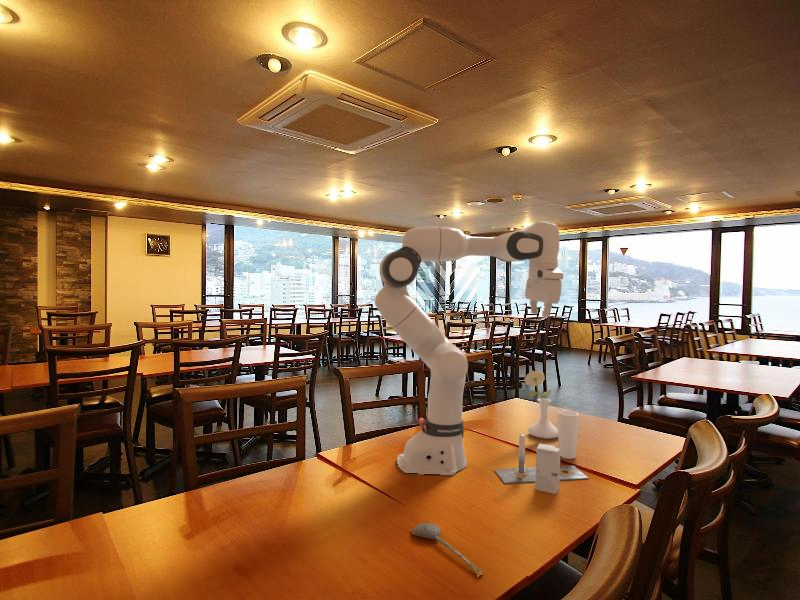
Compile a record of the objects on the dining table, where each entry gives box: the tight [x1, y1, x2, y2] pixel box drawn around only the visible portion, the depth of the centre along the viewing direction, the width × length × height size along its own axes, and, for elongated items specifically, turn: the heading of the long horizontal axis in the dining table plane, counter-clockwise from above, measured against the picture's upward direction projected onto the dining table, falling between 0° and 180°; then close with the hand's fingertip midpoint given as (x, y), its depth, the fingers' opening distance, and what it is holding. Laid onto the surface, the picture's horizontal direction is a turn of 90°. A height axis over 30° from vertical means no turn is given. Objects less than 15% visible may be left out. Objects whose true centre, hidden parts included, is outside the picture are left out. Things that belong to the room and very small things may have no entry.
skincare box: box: [534, 443, 561, 495], centre depth 127 cm, size 6×4×12 cm
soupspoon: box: [411, 522, 484, 574], centre depth 99 cm, size 22×3×7 cm
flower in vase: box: [524, 370, 558, 440], centre depth 169 cm, size 13×11×25 cm
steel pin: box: [516, 433, 527, 477], centre depth 135 cm, size 3×3×12 cm
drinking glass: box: [556, 409, 580, 460], centre depth 150 cm, size 7×7×15 cm
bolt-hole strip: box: [493, 464, 589, 485], centre depth 137 cm, size 26×9×1 cm, turn 97°
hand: (539, 315), depth 146 cm, fingers open, 8 cm apart
